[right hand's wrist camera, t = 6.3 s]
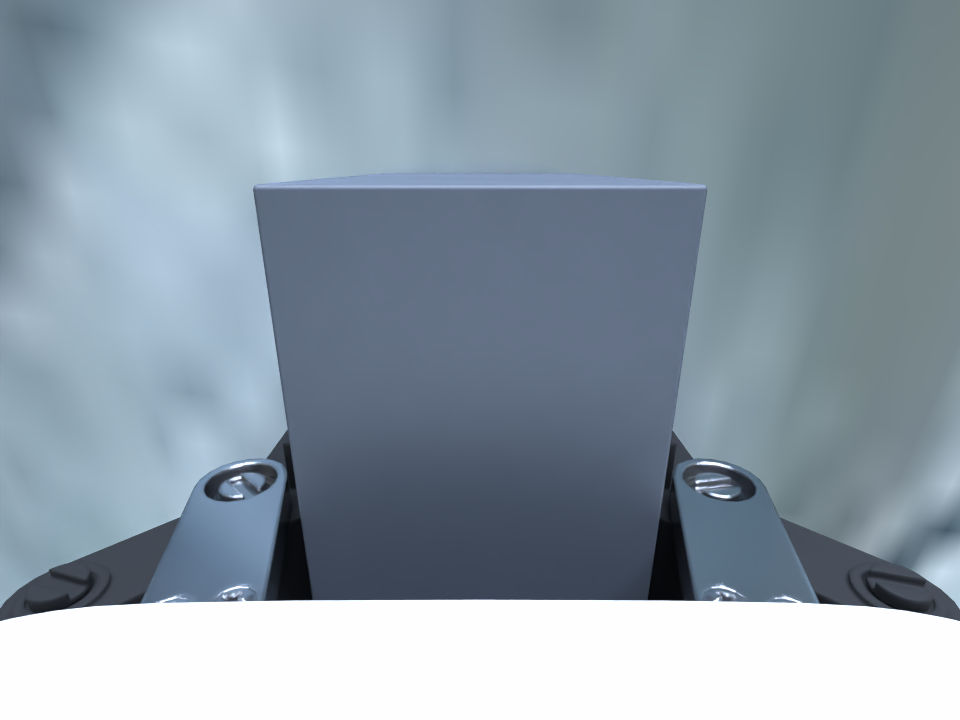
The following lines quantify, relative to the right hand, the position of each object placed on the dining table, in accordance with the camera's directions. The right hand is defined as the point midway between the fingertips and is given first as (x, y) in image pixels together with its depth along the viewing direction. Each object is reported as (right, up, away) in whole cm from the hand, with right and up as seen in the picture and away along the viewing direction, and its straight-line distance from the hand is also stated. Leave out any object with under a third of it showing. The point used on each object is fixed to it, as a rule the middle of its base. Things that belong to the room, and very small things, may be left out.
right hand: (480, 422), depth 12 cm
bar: (0, -23, +11) cm, 25 cm away
